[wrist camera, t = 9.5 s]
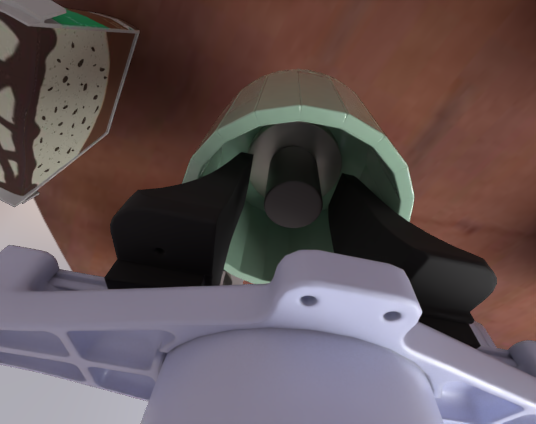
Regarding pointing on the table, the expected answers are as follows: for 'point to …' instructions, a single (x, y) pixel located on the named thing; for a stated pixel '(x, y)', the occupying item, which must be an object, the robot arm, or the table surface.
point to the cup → (312, 111)
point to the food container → (55, 88)
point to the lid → (294, 170)
